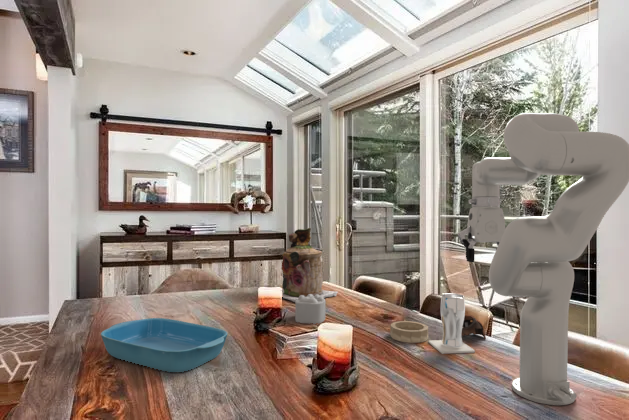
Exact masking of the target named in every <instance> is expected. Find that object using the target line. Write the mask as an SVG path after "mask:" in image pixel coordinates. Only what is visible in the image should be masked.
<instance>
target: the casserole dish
mask: <svg viewBox="0 0 629 420" xmlns="http://www.w3.org/2000/svg"><path fill="white" fill-rule="evenodd" d="M228 334H229V333H228V331H226V330H224V329H222V328H218V327H213V326H207V325H202V324H197V323H193V322H188V321H184V320H183V321H182V320H177V319H171V318H165V317H163V318H162V317H151V318H142V319H135V320H128V321H123V322H119V323H116V324H113V325H111V326H110V327H109V328H106V329H104V330H102V332H100V336H101V338H102V342H103V344H104V347H105V350H106V351H107V353H108V354H109V355H110V356H112V357H114V358H116V359H118V360H120V359H121V361H123V360H125V362H127V361H128V362H127V363H130V362H132V363H131V364H134V363H135V364H134V365H137V364H139V365H138V366H141V365H143V366H142V367H144V366H147V367H146V368H148V367H150V368H149V369H152V368H154V369H153V370H156V369H158V370H157V371H160V370H162V371H161V372H165V371H168V372H167V373H170V372H182V373H185V372H184V371H187V372H188V370H189V371H192V370H194V369H197V368H199V367H201V366H202V365H204V363H205V364H207V363H209V362H210V360H211V361H212V360H214V359H215V358H217V357H218V356H219V355H220V354H221V352H222V351H223V348H224V346H225V343H226V339H227V337H228ZM208 361H209V362H208ZM206 362H207V363H206ZM200 365H201V366H200ZM198 366H199V367H198ZM196 367H197V368H196ZM191 369H192V370H191Z"/></svg>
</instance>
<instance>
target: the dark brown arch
mask: <svg viewBox="0 0 629 420" xmlns="http://www.w3.org/2000/svg"><path fill="white" fill-rule="evenodd" d="M469 335H479V336H482V337H483V338H484V340H487V338H486V332H485V329H484V325H483V323H482V322H481V321H480V320H479V319H477V318H476V317H475V316H474V315H471V314H465V317H464V323H463V328H462V337H465V336H469Z"/></svg>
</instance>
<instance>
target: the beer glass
mask: <svg viewBox="0 0 629 420" xmlns="http://www.w3.org/2000/svg"><path fill="white" fill-rule="evenodd" d="M465 301H466V300H465V296H464V294H460V293H454V292H453V293H452V292H451V293H448V292H446V293H442V294H441V298H440V317H441V318H440V319H441V324H442V339H441V340H442V345H443V346H444V347H447V348H453V349H458V348H462V347H463V343H464V342H463V336H462V328H463V323H464V317H465V315H466V303H465ZM462 342H463V343H462Z"/></svg>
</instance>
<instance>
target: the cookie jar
mask: <svg viewBox="0 0 629 420" xmlns="http://www.w3.org/2000/svg"><path fill="white" fill-rule="evenodd" d="M311 229H312V228H311V227H308V228H306V229H304V228H303V229H302V228H298V229H296V230H294V232H293V233H290V234H288V240H289V242H291V244H290V247H289V248H287V249H286V250H285V251H284V252H283V254H282V261H281V271H282V277H283V278H282V279H283V280H282V283H281V284H282V285H281V286H282V290H281V291H282V292H283V298H282V299H284V300H288V301H290V302H293V303H295V302H296V300H297V299H298V298H299V296H300V295H304V296H305V297H307V295H308V294H312V295H313V296H315V295H316V294H318V295H319V296H320V297H321V296H322V297H324V299H325V298H331V297H337V294H338V291H335V290H334V291H332V290H324V289H322V287H323V282H324V280H323V277H324V276H323V275H324V274H323V268H322V259H321V256H322V255H323V251H321V250H319V249H318V250H317V249H315V248H314V247H313V246H312V245H310V241H311V239H312V237H311V231H312V230H311Z"/></svg>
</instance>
